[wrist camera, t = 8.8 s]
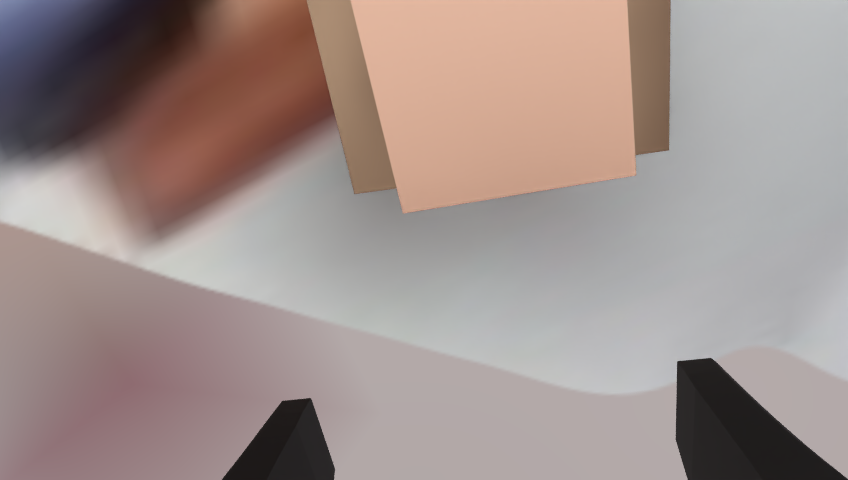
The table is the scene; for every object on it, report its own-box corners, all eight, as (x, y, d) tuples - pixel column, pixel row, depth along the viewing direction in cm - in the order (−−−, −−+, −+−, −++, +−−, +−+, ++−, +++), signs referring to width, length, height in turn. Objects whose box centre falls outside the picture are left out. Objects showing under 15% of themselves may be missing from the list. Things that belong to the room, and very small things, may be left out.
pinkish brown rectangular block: (554, -102, 17) (623, -88, 10) (570, 65, 19) (636, 175, 12) (389, -65, 17) (343, -27, 10) (422, 93, 19) (402, 213, 12)
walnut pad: (663, -239, 16) (672, -245, 15) (661, 141, 21) (668, 150, 20) (275, -157, 17) (267, -159, 16) (357, 184, 22) (354, 194, 21)
